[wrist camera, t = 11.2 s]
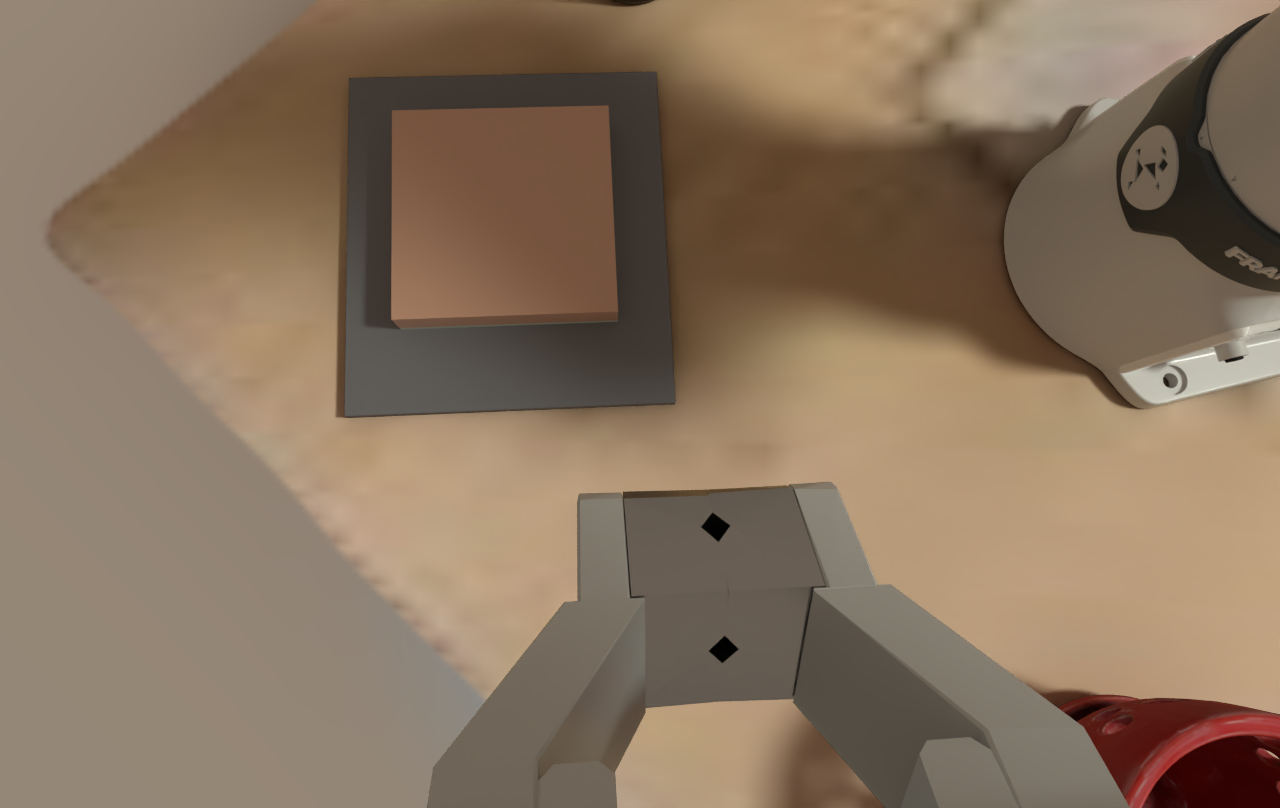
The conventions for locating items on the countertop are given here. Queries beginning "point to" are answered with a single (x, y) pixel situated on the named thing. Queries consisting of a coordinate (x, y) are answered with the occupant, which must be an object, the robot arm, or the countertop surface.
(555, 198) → the tile
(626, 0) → the supplement bottle
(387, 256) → the mat
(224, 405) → the countertop surface
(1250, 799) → the plant pot
